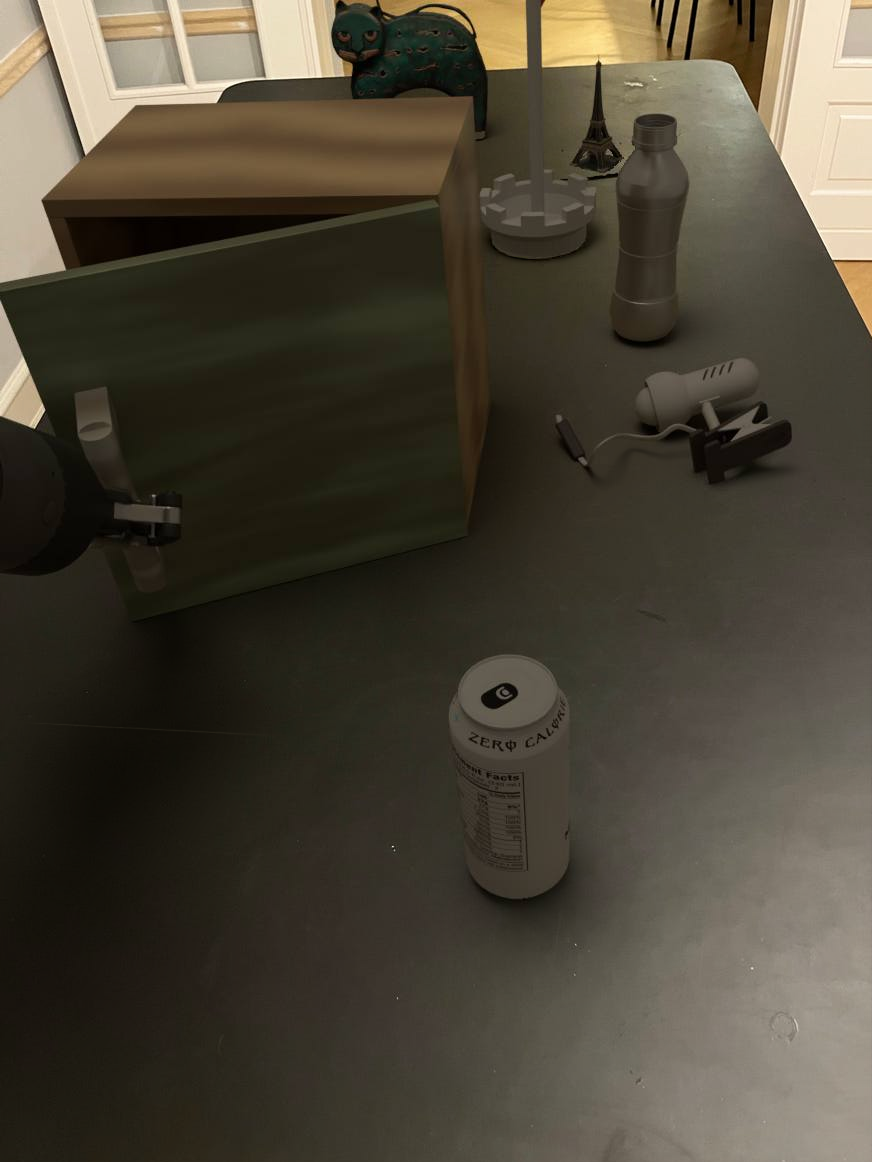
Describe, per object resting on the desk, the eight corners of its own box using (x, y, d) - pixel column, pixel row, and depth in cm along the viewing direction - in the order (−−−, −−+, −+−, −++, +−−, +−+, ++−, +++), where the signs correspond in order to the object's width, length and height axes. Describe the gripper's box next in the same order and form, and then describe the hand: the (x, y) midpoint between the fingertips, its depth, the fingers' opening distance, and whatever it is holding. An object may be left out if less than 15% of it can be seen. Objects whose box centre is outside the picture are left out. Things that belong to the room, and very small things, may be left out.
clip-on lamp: (584, 527, 87) (797, 464, 85) (569, 473, 82) (794, 404, 80) (558, 438, 94) (753, 378, 92) (543, 383, 90) (748, 319, 87)
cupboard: (467, 526, 83) (438, 194, 65) (153, 518, 87) (40, 199, 68) (491, 403, 96) (472, 96, 77) (216, 400, 99) (135, 104, 81)
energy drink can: (591, 870, 60) (595, 697, 50) (507, 927, 58) (493, 758, 47) (528, 803, 64) (519, 628, 53) (447, 854, 62) (421, 682, 51)
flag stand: (563, 272, 114) (562, -50, 93) (461, 252, 119) (438, -58, 98) (613, 225, 122) (623, -82, 100) (515, 208, 127) (505, -88, 106)
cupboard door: (492, 582, 78) (469, 244, 60) (139, 677, 73) (-5, 340, 55) (463, 527, 83) (434, 198, 65) (130, 611, 78) (-4, 282, 60)
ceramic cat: (346, 153, 143) (322, -15, 129) (350, 136, 148) (327, -28, 134) (491, 143, 142) (482, -26, 128) (490, 127, 147) (482, -39, 133)
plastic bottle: (622, 313, 107) (630, 104, 92) (685, 324, 104) (704, 111, 90) (599, 343, 103) (604, 129, 88) (664, 355, 100) (680, 138, 86)
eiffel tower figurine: (642, 144, 139) (648, 32, 130) (664, 172, 132) (671, 56, 122) (532, 157, 138) (530, 45, 129) (548, 186, 131) (547, 70, 121)
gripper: (127, 418, 50) (245, 474, 67) (-145, 413, 51) (39, 469, 68) (122, 576, 50) (241, 591, 67) (-150, 566, 51) (35, 583, 68)
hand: (138, 529), depth 67 cm, fingers closed on cupboard door, 2 cm apart
